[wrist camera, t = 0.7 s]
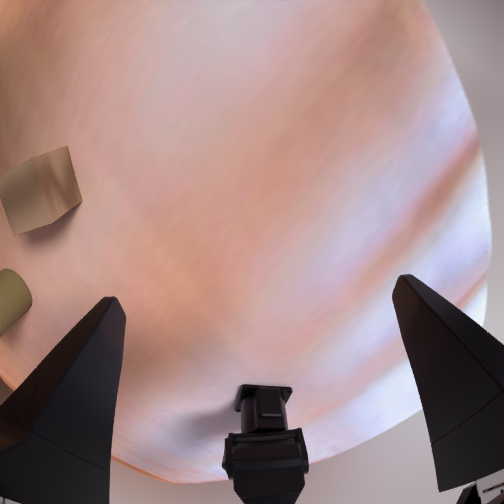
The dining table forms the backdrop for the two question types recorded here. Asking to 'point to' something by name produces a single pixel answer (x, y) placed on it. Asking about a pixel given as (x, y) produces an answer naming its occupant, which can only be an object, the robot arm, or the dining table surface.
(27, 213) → the walnut block
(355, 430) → the dining table surface
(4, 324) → the cork
